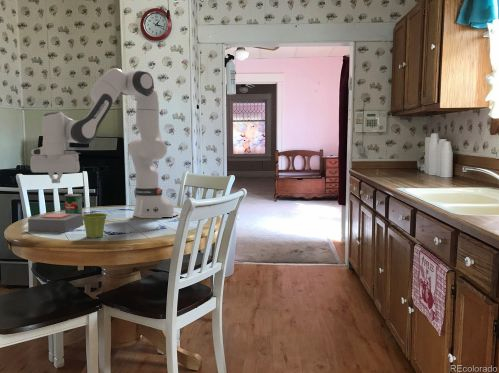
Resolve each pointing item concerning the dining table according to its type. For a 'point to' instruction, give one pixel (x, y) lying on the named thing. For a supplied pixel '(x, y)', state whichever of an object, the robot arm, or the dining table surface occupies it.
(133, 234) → the dining table surface
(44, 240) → the dining table surface
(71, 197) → the canned tomato
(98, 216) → the plant pot
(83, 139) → the robot arm
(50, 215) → the button
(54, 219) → the button housing
